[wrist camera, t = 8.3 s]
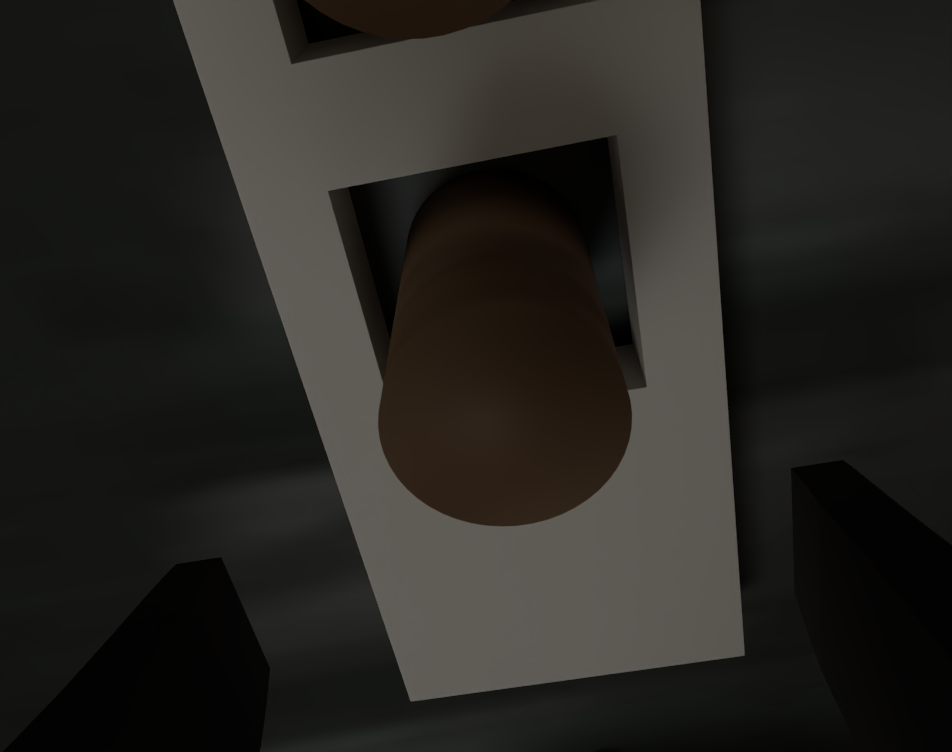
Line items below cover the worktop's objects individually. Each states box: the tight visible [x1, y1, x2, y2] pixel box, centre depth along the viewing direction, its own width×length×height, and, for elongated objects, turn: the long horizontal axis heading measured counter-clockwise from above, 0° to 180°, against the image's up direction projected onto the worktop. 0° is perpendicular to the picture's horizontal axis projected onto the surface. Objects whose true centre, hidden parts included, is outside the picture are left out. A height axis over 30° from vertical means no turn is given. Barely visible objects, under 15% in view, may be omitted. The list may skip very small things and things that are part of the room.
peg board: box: [173, 0, 745, 701], centre depth 20 cm, size 23×9×2 cm, turn 11°
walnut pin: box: [378, 168, 632, 527], centre depth 17 cm, size 4×4×7 cm
